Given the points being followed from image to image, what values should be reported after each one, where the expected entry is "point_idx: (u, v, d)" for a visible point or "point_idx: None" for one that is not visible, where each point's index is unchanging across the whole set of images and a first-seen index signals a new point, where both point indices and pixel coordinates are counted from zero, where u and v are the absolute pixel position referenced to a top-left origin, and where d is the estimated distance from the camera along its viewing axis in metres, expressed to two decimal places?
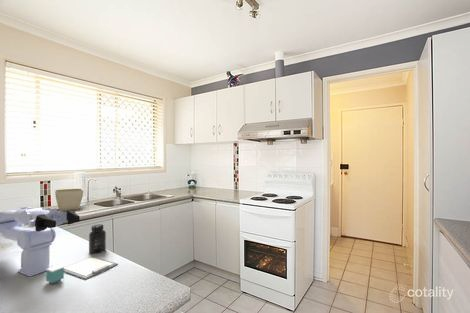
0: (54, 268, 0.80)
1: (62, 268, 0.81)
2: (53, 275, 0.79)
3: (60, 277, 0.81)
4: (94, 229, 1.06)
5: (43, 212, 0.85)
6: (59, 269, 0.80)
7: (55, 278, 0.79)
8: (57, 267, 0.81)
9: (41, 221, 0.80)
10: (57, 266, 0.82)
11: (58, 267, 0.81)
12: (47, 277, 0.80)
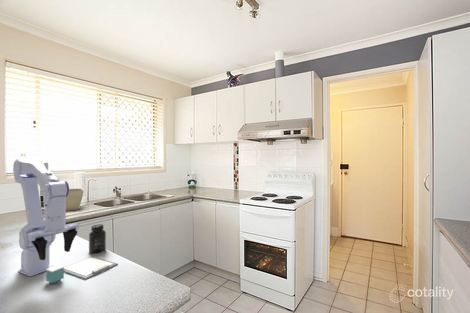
0: (54, 268, 0.80)
1: (62, 268, 0.81)
2: (53, 275, 0.78)
3: (60, 277, 0.81)
4: (94, 229, 1.06)
5: (55, 221, 0.79)
6: (59, 269, 0.80)
7: (55, 278, 0.79)
8: (57, 267, 0.81)
9: None
10: (57, 266, 0.82)
11: (58, 267, 0.81)
12: (46, 277, 0.80)
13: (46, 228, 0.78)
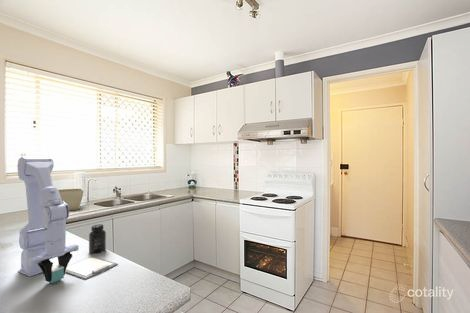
0: (54, 268, 0.80)
1: (62, 268, 0.81)
2: (53, 275, 0.79)
3: (60, 277, 0.81)
4: (94, 229, 1.06)
5: (54, 244, 0.79)
6: (59, 269, 0.80)
7: (55, 278, 0.79)
8: (57, 267, 0.81)
9: None
10: (57, 266, 0.82)
11: (58, 267, 0.81)
12: None
13: (46, 252, 0.78)
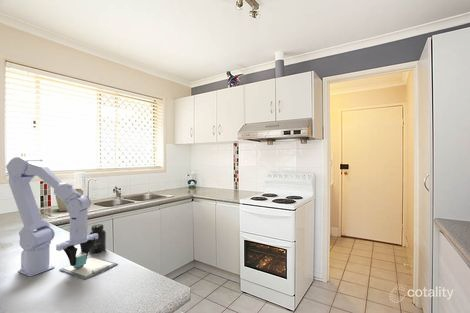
0: (78, 254, 0.89)
1: (85, 254, 0.90)
2: (77, 260, 0.87)
3: (83, 262, 0.89)
4: (94, 229, 1.06)
5: (78, 232, 0.88)
6: (82, 255, 0.89)
7: (79, 263, 0.88)
8: (80, 254, 0.90)
9: None
10: (80, 253, 0.91)
11: (81, 254, 0.90)
12: None
13: (71, 239, 0.87)
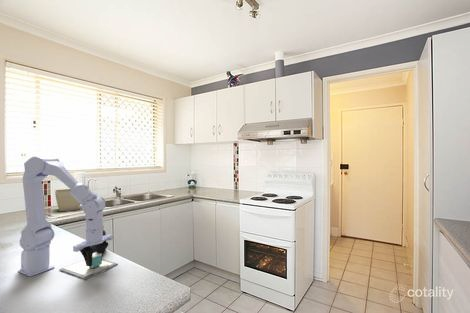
0: (94, 255, 0.90)
1: (100, 255, 0.91)
2: (93, 260, 0.88)
3: (99, 263, 0.90)
4: None
5: (95, 233, 0.88)
6: (98, 256, 0.90)
7: (95, 263, 0.89)
8: (96, 254, 0.90)
9: None
10: (96, 253, 0.91)
11: (97, 254, 0.90)
12: None
13: (87, 240, 0.88)
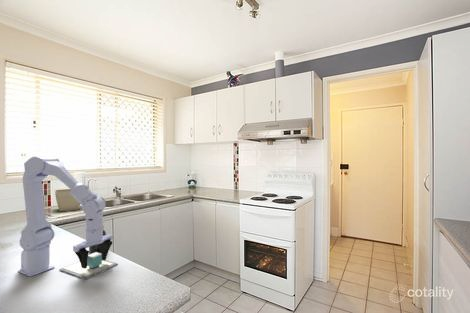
0: (94, 255, 0.90)
1: (100, 255, 0.91)
2: (93, 260, 0.88)
3: (99, 263, 0.90)
4: None
5: (95, 233, 0.88)
6: (98, 256, 0.90)
7: (95, 263, 0.89)
8: (96, 254, 0.90)
9: None
10: (96, 253, 0.91)
11: (97, 254, 0.90)
12: (87, 262, 0.89)
13: (87, 240, 0.88)
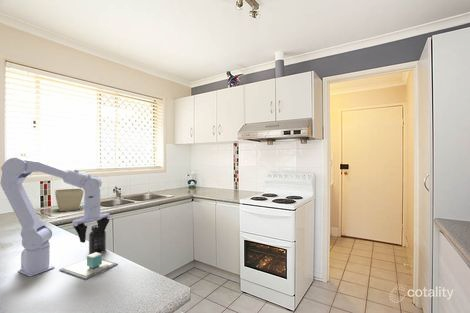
0: (94, 255, 0.90)
1: (100, 255, 0.91)
2: (93, 260, 0.88)
3: (99, 263, 0.90)
4: (94, 229, 1.06)
5: (92, 210, 0.93)
6: (98, 256, 0.90)
7: (95, 263, 0.89)
8: (96, 254, 0.90)
9: None
10: (96, 253, 0.91)
11: (97, 254, 0.90)
12: (87, 262, 0.89)
13: (85, 216, 0.93)
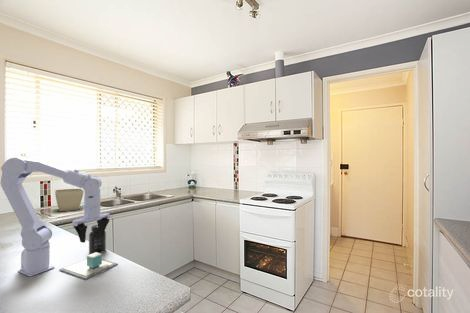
0: (94, 255, 0.90)
1: (100, 255, 0.91)
2: (93, 260, 0.88)
3: (99, 263, 0.90)
4: (94, 229, 1.06)
5: (92, 210, 0.93)
6: (98, 256, 0.90)
7: (95, 263, 0.89)
8: (96, 254, 0.90)
9: None
10: (96, 253, 0.91)
11: (97, 254, 0.90)
12: (87, 262, 0.89)
13: (85, 216, 0.93)
